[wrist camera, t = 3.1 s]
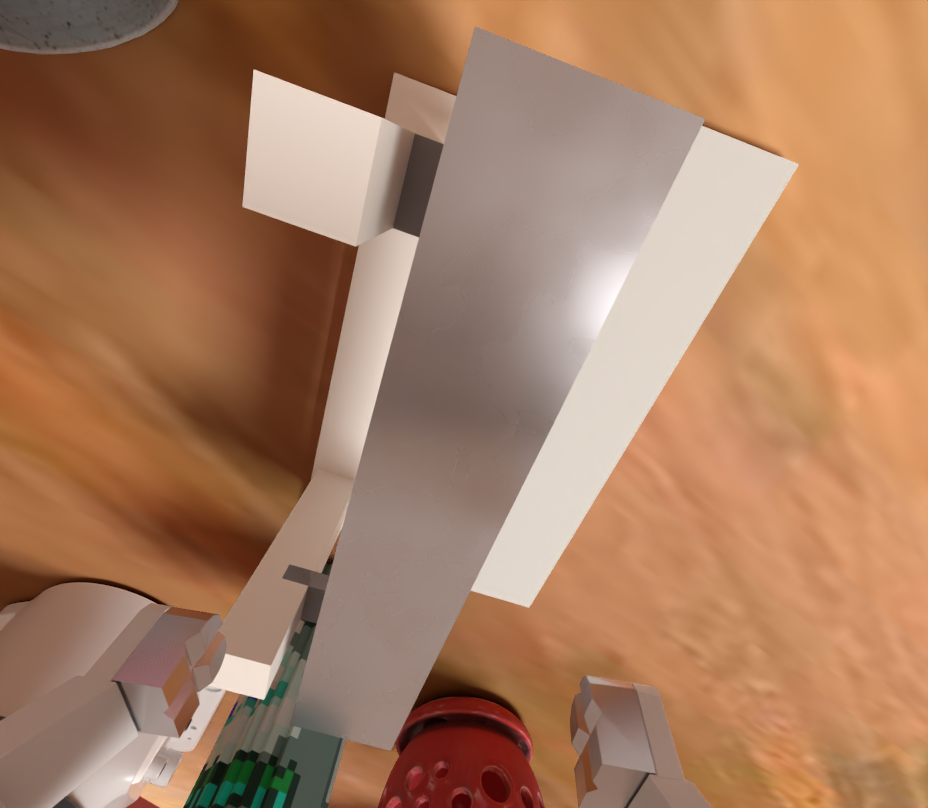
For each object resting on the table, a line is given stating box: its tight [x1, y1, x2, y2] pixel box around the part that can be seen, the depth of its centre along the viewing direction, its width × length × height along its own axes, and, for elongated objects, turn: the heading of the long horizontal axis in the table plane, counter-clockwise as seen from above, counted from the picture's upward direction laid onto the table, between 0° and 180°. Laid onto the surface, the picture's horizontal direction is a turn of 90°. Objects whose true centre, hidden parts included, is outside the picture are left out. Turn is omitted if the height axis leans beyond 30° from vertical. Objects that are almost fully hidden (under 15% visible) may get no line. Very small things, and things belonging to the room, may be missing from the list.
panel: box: [471, 126, 799, 607], centre depth 24 cm, size 28×5×1 cm, turn 162°
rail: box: [290, 27, 705, 751], centre depth 15 cm, size 24×4×3 cm, turn 162°
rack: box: [208, 70, 456, 700], centre depth 18 cm, size 24×10×12 cm, turn 162°
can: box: [183, 562, 346, 808], centre depth 26 cm, size 6×6×15 cm
